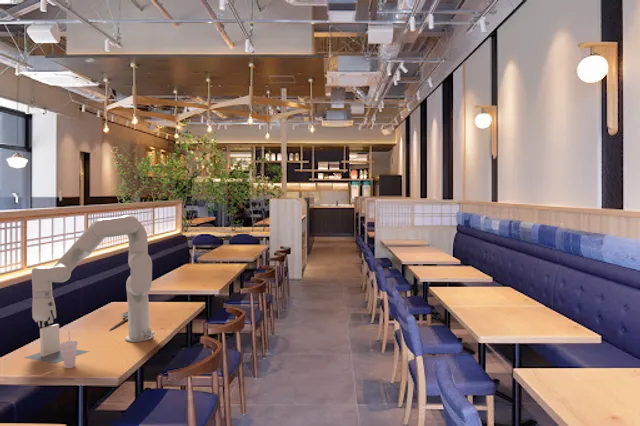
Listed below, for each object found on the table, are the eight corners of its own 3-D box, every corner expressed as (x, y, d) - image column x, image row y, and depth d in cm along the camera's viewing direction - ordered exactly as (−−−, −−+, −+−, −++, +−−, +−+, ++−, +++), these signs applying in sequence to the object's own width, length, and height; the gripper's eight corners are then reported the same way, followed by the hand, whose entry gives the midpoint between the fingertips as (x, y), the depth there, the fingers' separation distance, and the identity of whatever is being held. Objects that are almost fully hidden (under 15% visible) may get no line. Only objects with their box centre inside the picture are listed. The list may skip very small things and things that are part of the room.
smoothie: (81, 363, 199) (80, 330, 199) (74, 369, 193) (72, 334, 192) (65, 364, 199) (64, 330, 199) (57, 369, 193) (56, 335, 192)
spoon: (145, 314, 281) (144, 309, 281) (120, 332, 248) (119, 327, 248) (127, 316, 282) (126, 311, 282) (100, 334, 249) (99, 329, 249)
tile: (59, 350, 216) (59, 324, 215) (43, 356, 208) (42, 329, 208) (57, 350, 216) (56, 324, 216) (40, 356, 209) (39, 328, 208)
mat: (88, 352, 214) (88, 351, 214) (56, 364, 199) (56, 363, 199) (57, 347, 222) (57, 346, 222) (23, 358, 207) (23, 357, 207)
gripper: (61, 293, 213) (63, 335, 214) (39, 291, 219) (41, 331, 220) (46, 297, 206) (48, 339, 207) (23, 295, 212) (25, 336, 213)
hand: (44, 335), depth 213 cm, fingers closed
